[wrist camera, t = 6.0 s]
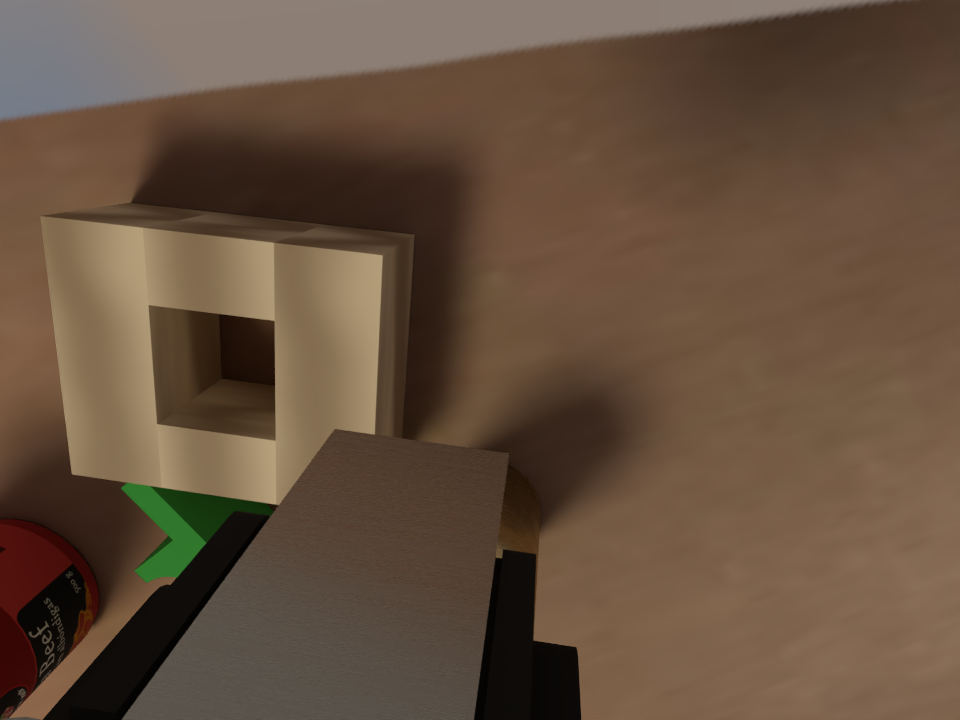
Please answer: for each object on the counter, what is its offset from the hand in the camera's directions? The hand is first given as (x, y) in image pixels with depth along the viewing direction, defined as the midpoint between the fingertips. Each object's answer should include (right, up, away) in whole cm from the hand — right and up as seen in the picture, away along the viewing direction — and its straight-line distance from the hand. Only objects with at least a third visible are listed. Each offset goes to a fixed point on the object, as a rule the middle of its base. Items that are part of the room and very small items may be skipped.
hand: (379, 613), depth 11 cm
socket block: (-7, +5, +18) cm, 20 cm away
